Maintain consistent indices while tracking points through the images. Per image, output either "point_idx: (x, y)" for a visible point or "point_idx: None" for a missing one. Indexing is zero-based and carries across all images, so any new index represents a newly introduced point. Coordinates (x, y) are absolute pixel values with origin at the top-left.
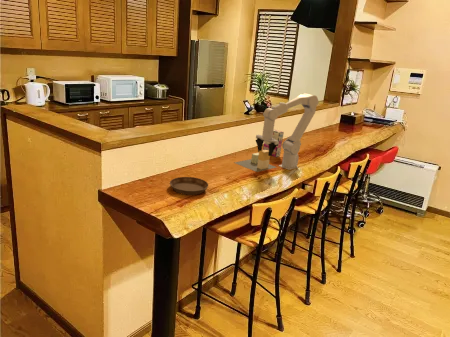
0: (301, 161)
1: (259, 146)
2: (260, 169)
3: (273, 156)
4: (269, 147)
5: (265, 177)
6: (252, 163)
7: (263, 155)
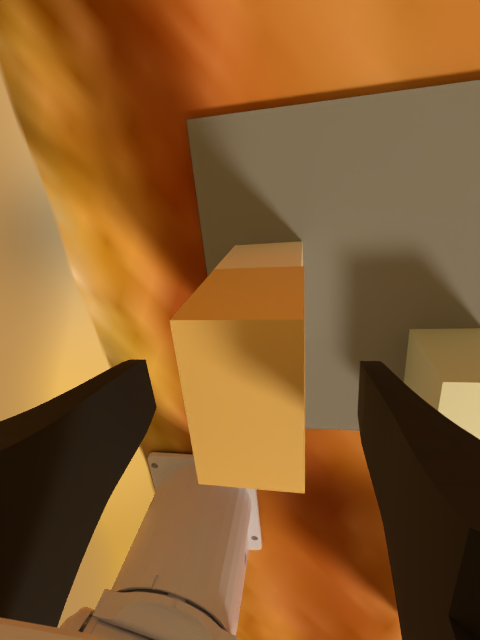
0: (263, 635)
1: (390, 439)
2: (237, 230)
3: None
4: (5, 438)
5: (44, 103)
6: (431, 301)
7: (189, 298)
